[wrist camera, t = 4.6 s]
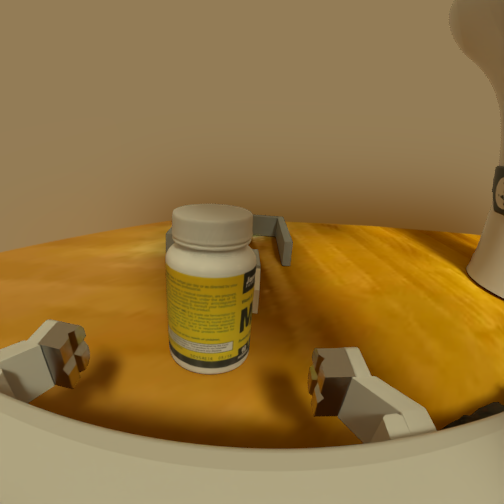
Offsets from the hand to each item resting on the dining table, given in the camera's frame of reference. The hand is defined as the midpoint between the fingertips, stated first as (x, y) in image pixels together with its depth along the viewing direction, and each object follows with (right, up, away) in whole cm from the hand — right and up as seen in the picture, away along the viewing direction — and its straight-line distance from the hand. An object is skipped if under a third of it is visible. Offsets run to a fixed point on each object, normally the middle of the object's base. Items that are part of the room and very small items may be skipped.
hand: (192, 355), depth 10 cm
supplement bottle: (-1, -3, +8) cm, 9 cm away
